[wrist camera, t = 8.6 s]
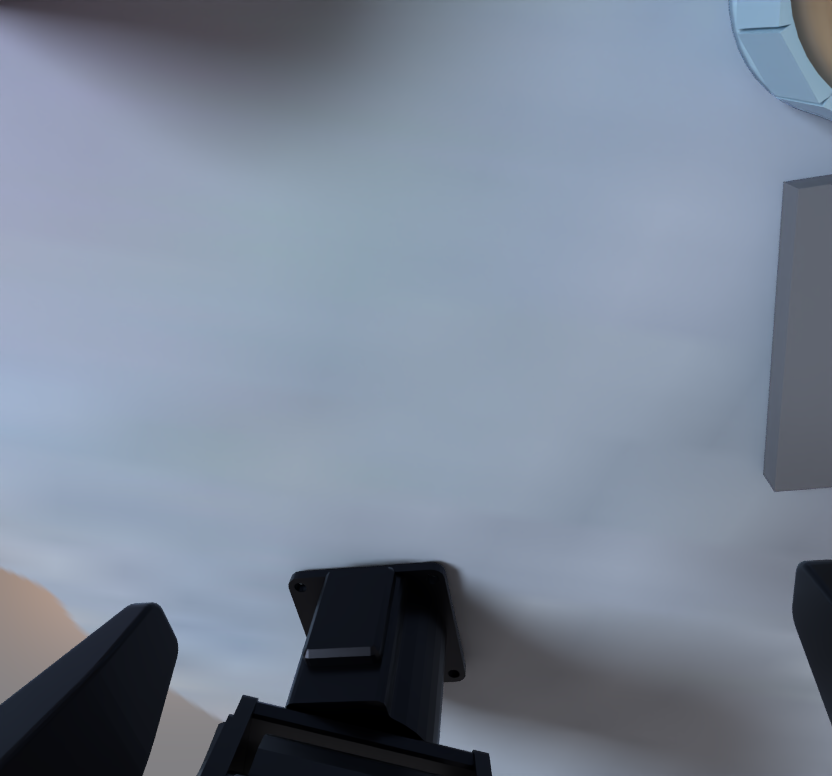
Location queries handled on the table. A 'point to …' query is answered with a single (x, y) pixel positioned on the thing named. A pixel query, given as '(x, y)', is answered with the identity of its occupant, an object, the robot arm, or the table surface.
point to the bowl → (778, 55)
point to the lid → (815, 33)
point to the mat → (802, 342)
